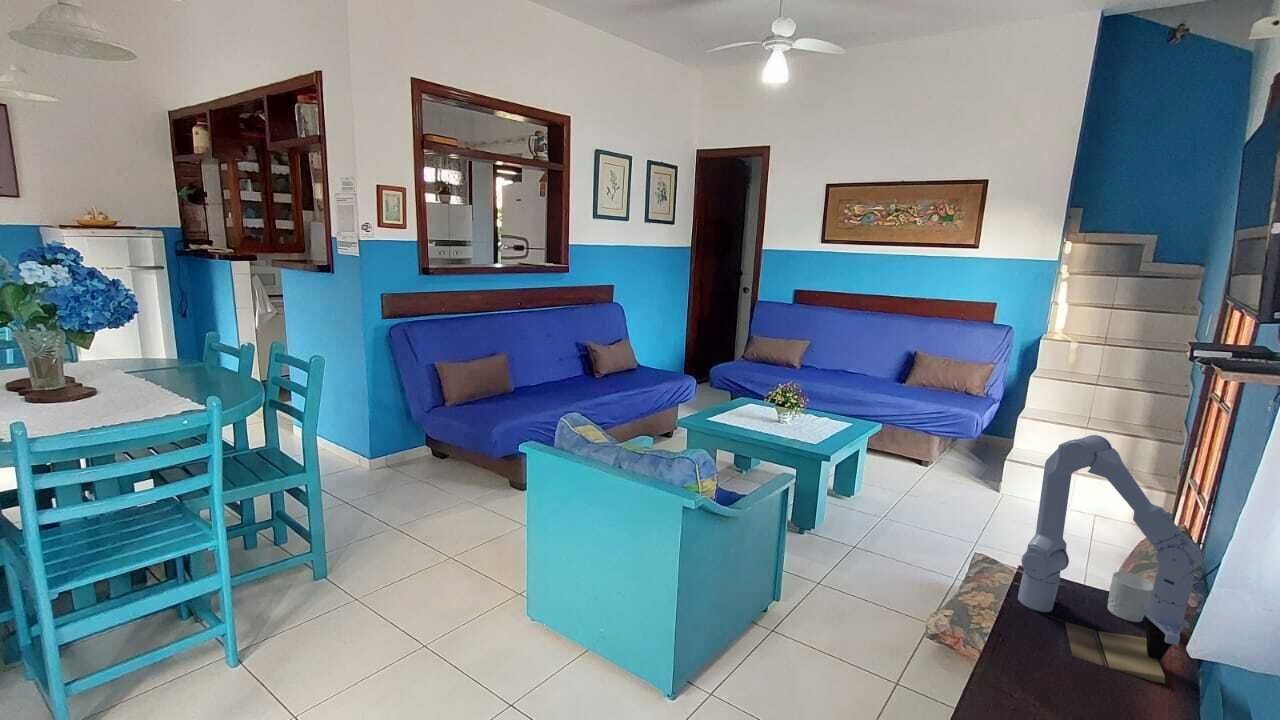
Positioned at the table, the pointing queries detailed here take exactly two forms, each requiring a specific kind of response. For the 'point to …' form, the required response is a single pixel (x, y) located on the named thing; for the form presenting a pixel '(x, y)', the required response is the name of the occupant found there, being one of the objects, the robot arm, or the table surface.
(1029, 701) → the table surface
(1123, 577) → the white cup
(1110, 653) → the oak plank
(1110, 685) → the table surface
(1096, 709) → the table surface
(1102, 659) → the walnut board
